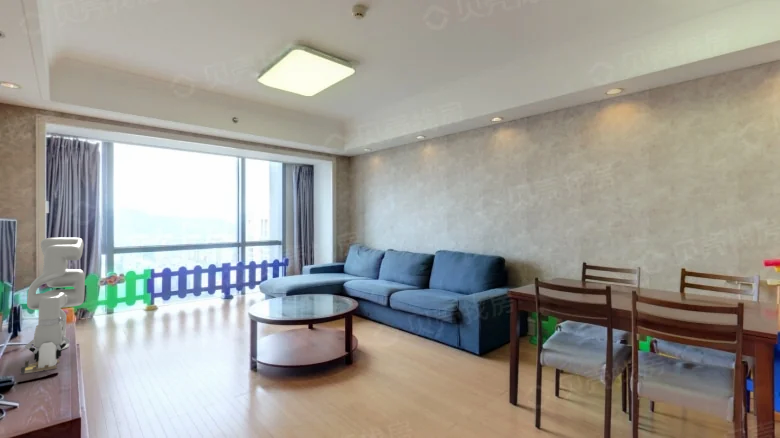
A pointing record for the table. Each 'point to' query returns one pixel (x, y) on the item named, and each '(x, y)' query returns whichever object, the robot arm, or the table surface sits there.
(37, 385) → the table surface
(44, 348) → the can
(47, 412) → the table surface
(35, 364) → the comb channel
